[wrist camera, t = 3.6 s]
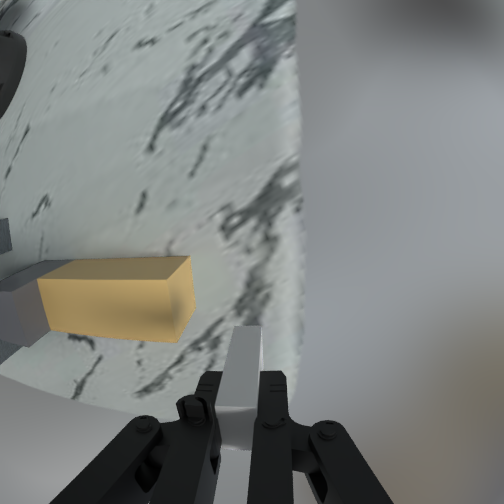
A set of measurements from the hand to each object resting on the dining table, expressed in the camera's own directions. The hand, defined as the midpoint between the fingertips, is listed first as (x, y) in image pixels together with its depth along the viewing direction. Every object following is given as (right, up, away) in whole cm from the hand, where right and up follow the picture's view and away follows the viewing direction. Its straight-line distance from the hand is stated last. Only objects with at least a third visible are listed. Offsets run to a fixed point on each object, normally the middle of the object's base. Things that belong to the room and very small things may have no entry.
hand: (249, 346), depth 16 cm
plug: (-14, +2, +11) cm, 18 cm away
